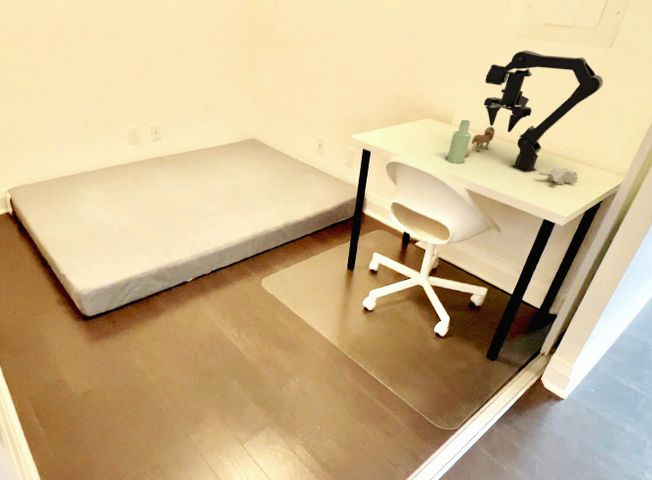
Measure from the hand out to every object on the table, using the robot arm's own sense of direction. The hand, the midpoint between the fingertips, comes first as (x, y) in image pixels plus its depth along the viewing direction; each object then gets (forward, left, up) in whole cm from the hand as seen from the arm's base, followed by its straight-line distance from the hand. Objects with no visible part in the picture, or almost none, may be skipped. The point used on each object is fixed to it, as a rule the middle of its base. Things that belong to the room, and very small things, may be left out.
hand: (500, 128), depth 174 cm
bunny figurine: (-27, -7, -13) cm, 31 cm away
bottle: (+4, +15, -13) cm, 20 cm away
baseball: (+8, +8, -13) cm, 17 cm away
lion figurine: (+13, -6, -13) cm, 19 cm away
